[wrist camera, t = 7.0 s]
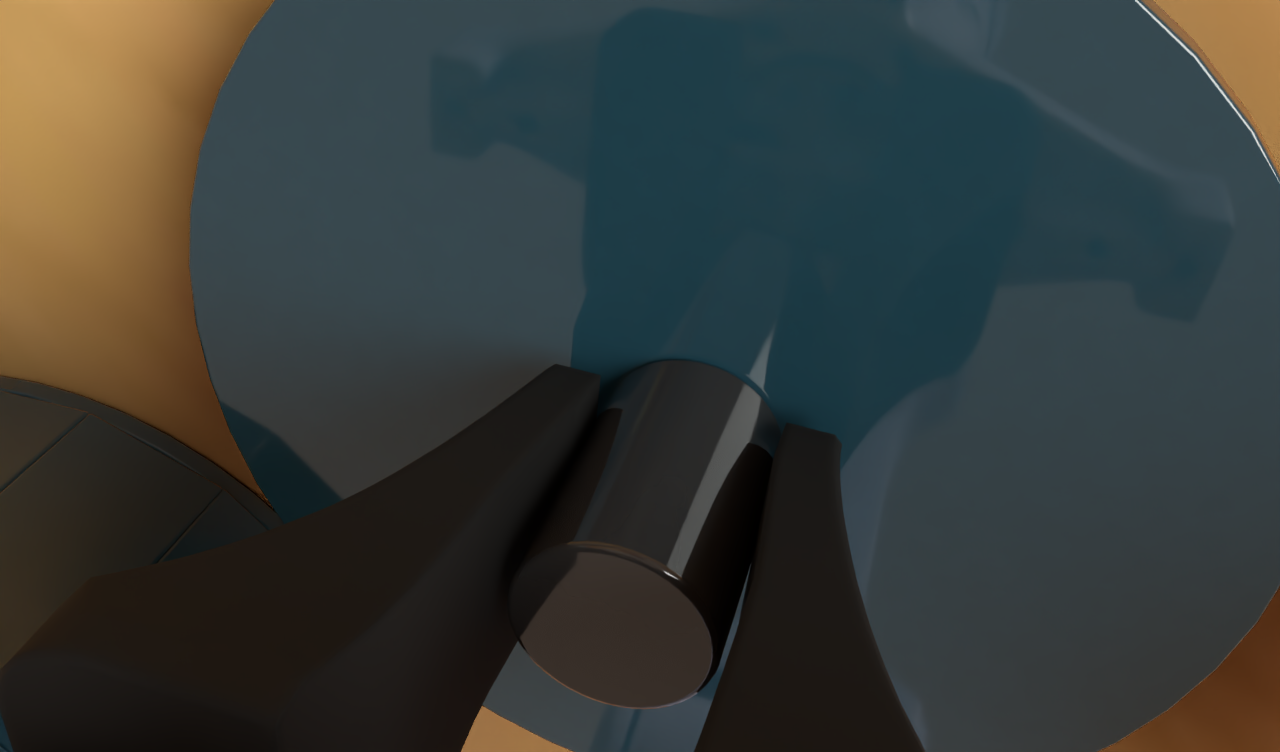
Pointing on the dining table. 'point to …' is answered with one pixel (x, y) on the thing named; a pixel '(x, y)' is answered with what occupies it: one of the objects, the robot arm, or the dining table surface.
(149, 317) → the dining table surface
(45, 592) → the pot
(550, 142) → the pot lid
